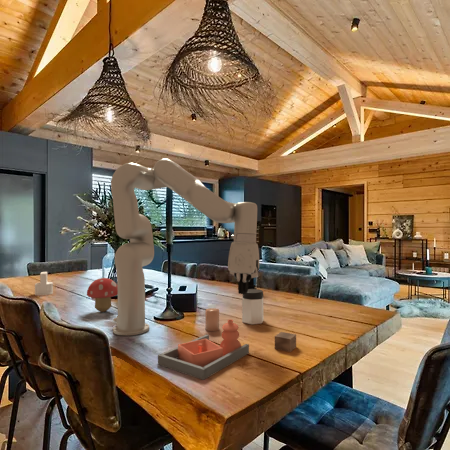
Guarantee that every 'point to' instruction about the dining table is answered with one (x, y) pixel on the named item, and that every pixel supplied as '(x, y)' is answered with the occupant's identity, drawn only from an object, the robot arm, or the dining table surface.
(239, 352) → the corral
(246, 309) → the jar
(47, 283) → the white stepped block
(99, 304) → the decorative mushroom
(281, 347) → the metal block
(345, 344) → the dining table surface
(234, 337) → the pottery
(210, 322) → the beige rounded cylinder
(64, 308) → the dining table surface
